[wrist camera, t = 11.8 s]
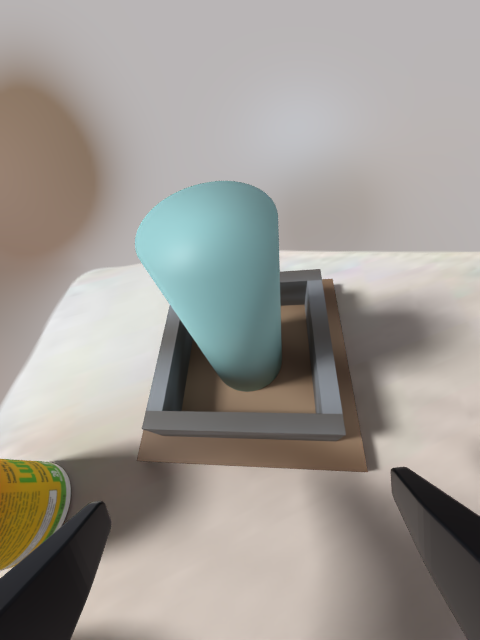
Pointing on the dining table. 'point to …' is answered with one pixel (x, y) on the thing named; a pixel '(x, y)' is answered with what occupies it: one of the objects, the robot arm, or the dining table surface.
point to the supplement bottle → (30, 506)
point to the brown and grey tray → (260, 395)
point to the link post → (220, 275)
